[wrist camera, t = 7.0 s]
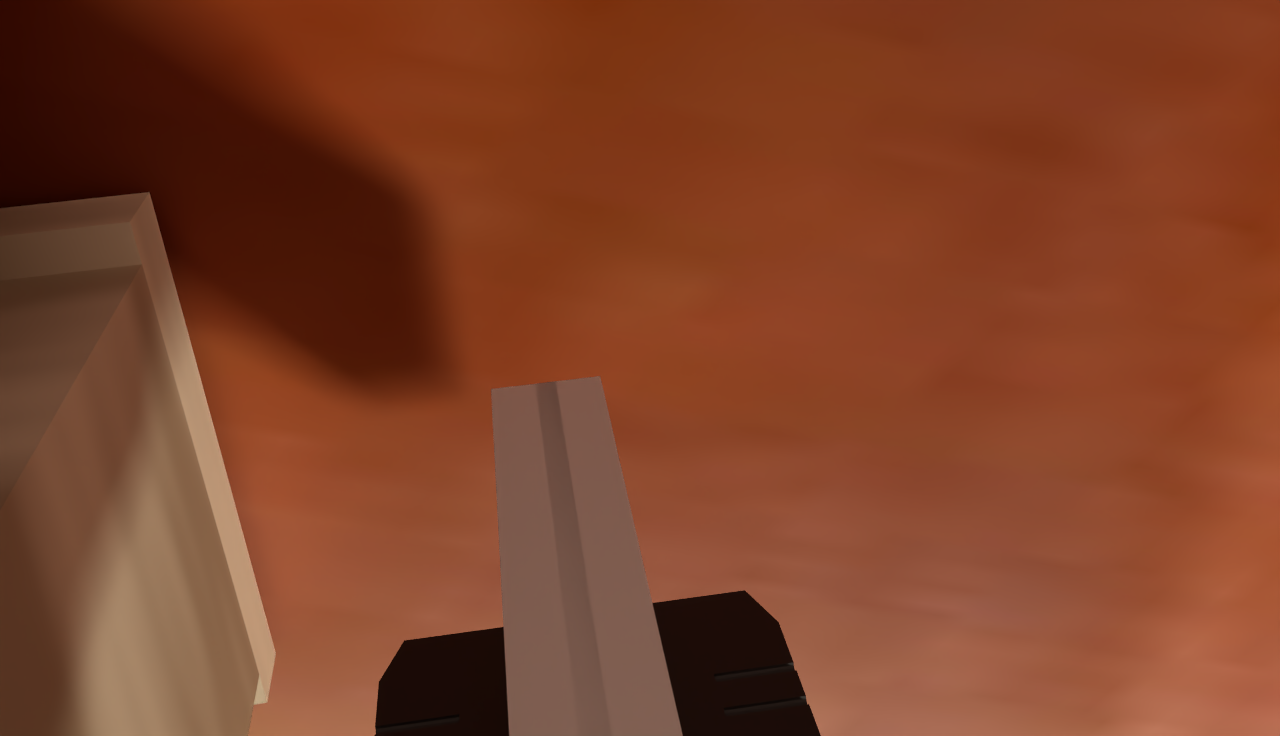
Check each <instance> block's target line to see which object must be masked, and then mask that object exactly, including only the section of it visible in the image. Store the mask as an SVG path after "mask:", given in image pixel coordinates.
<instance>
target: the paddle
mask: <svg viewBox="0 0 1280 736" xmlns="http://www.w3.org/2000/svg"><path fill="white" fill-rule="evenodd" d="M275 655H276V652H275V649H274V645H273V641H272V638H271V634H270V630H269V627H268V623H267V619H266V616H265V612H264V609H263V605H262V601H261V598H260V594H259V590H258V587H257V583H256V579H255V576H254V572H253V568H252V565H251V561H250V557H249V554H248V550H247V546H246V543H245V539H244V536H243V532H242V528H241V525H240V521H239V517H238V514H237V510H236V506H235V503H234V499H233V495H232V492H231V488H230V484H229V481H228V477H227V473H226V470H225V466H224V462H223V459H222V455H221V452H220V448H219V444H218V441H217V437H216V433H215V430H214V426H213V422H212V419H211V415H210V411H209V408H208V404H207V400H206V397H205V393H204V389H203V386H202V382H201V379H200V375H199V371H198V368H197V364H196V360H195V357H194V353H193V349H192V346H191V342H190V338H189V335H188V331H187V327H186V324H185V320H184V316H183V313H182V309H181V305H180V302H179V298H178V295H177V291H176V287H175V284H174V280H173V276H172V273H171V269H170V265H169V262H168V258H167V254H166V251H165V247H164V243H163V240H162V236H161V232H160V229H159V225H158V222H157V218H156V214H155V211H154V207H153V203H152V200H151V196H150V192H146V193H137V194H127V195H118V196H109V197H100V198H91V199H81V200H72V201H63V202H54V203H45V204H35V205H26V206H17V207H8V208H0V736H248V732H249V727H250V722H251V717H252V711H253V706H254V704H261V703H267V701H268V695H269V690H270V684H271V678H272V672H273V667H274V661H275Z"/></svg>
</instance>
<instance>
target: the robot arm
mask: <svg viewBox="0 0 1280 736" xmlns="http://www.w3.org/2000/svg"><path fill="white" fill-rule="evenodd" d="M491 396H492V415H493V434H494V453H495V472H496V491H497V511H498V530H499V549H500V568H501V587H502V606H503V625H504V627H500V628H493V629H486V630H479V631H471V632H464V633H457V634H450V635H442V636H435V637H428V638H420V639H413V640H406V641H404V642H403V644H402V645H401V647H400V649H399V650H398V652H397V654H396V655H395V657H394V658H393V660H392V662H391V663H390V665H389V667H388V668H387V670H386V671H385V673H384V675H383V676H382V678H381V680H380V681H379V689H378V700H377V712H376V724H375V728H376V735H374V736H821V735H820V733H819V730H818V727H817V725H816V722H815V719H814V717H813V714H812V711H811V709H810V706H809V704H808V705H807V702H806V695H805V692H804V690H803V687H802V684H801V682H800V679H799V676H798V673H797V671H795V670H794V664H793V660H792V657H791V655H790V652H789V649H788V647H787V644H786V641H785V638H784V636H783V633H782V630H781V628H780V625H779V622H778V621H777V620H776V619H775V618H773V617H772V616H771V615H770V614H769V613H768V612H767V611H766V610H765V609H764V608H763V607H762V606H761V605H760V604H759V603H758V602H756V601H755V600H754V599H753V598H752V597H751V596H750V595H749V594H748V593H747V592H746V591H737V592H730V593H723V594H715V595H708V596H701V597H694V598H686V599H679V600H672V601H665V602H657V603H652V600H651V595H650V591H649V587H648V582H647V578H646V574H645V569H644V565H643V561H642V556H641V552H640V548H639V543H638V539H637V535H636V530H635V526H634V521H633V517H632V513H631V508H630V504H629V500H628V495H627V491H626V487H625V482H624V478H623V474H622V469H621V465H620V461H619V456H618V452H617V448H616V443H615V439H614V435H613V430H612V426H611V421H610V417H609V413H608V408H607V404H606V400H605V395H604V391H603V387H602V382H601V378H600V376H598V377H589V378H581V379H572V380H564V381H555V382H547V383H539V384H530V385H522V386H513V387H505V388H496V389H491Z"/></svg>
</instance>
